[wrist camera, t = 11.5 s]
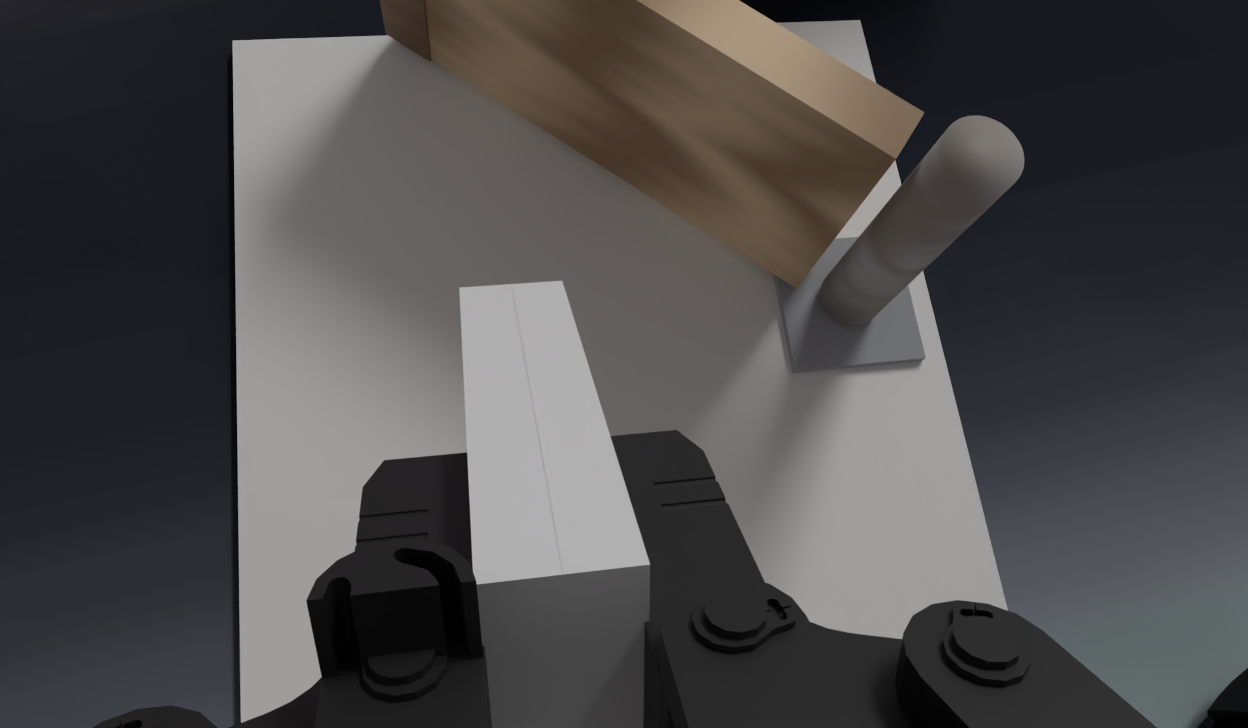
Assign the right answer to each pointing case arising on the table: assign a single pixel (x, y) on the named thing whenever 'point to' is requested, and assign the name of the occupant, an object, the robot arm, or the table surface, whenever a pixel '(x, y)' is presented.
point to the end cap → (1230, 706)
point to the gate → (727, 128)
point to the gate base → (609, 332)
